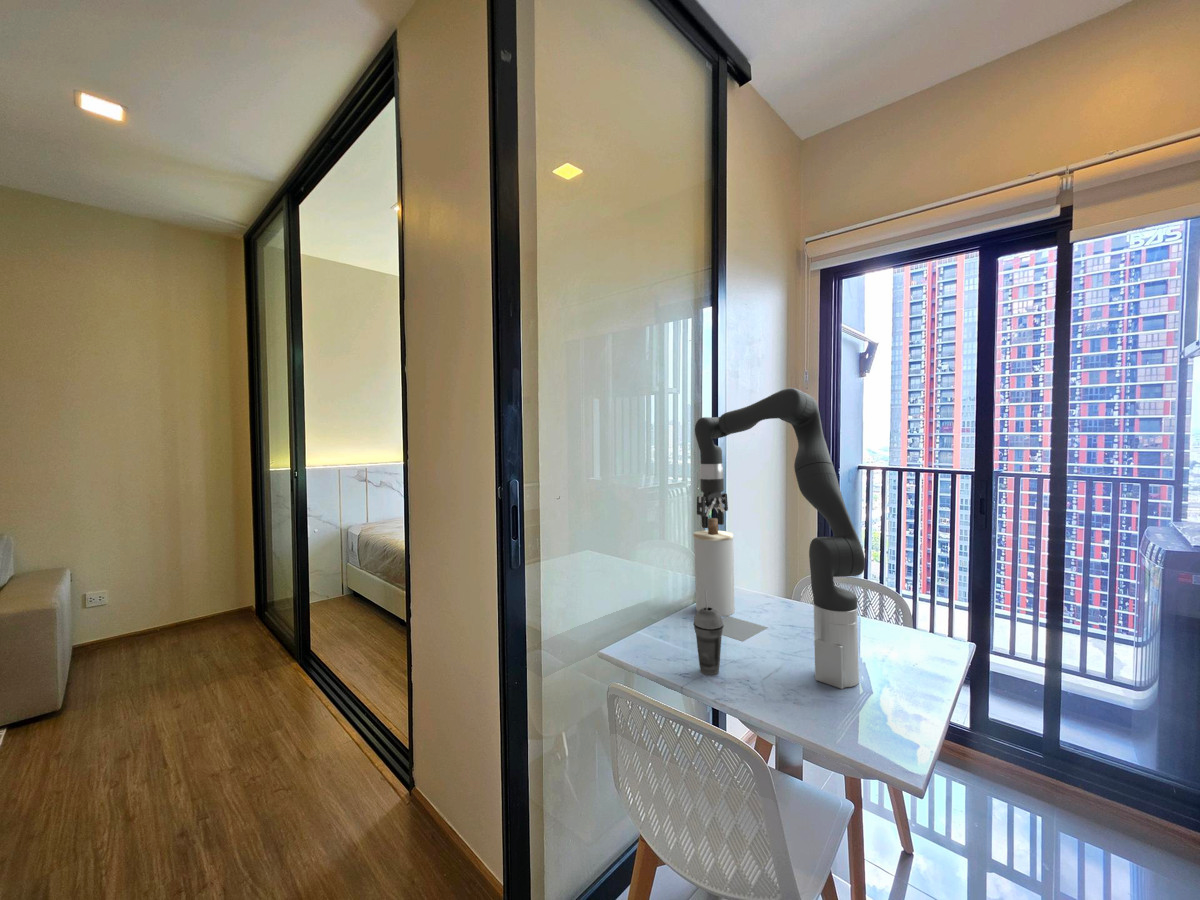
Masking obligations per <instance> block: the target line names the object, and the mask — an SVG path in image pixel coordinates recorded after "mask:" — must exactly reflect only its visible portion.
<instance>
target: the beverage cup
mask: <svg viewBox="0 0 1200 900" xmlns="http://www.w3.org/2000/svg"><path fill="white" fill-rule="evenodd" d="M704 594H705V606H706V607H705V608H702V609H700V610H699V611H697V612H696V613H695V615H694V619H693V623H692V624H693V627H694V631H695V632H694V633H695V638H696V647H697V653H698V654H697V656H698V663H699V664H698V665H699V668H700V669H699V670H700V673H701V674H702V675H705V676H711V677H712V676H717V675H718V674H719V673H720V667H721V653H722V652H721V650H722V649H721V648H722V636H723V635H722V632H723V627H724V626H723V622H722V618H723V617H721V616H720V614H719V613H718V612H717V611H716V610H715V609H713V608H710V607H708V606H707V594H706V589H704Z"/></svg>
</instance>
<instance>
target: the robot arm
mask: <svg viewBox="0 0 1200 900" xmlns="http://www.w3.org/2000/svg"><path fill="white" fill-rule="evenodd" d="M769 419H770V420H772V419H779V420H781V421H783V422H786V423H788V424H791V426H792V428H793V430H794V433H795V436H796V440H797V452H796V455H795V459H794V466H793V467H794V474H795V476H796V482H797V485H798V488H799V489H798V490H799V491H800V493H801V494H802V496H803V497H804V498H805V499H806V501H808V503H810V505H811V506H812V507H813V508H814V509H816V510H817V512H819V514H821V516H823V518H824V519H825V520H826V522H827V524H828V525H829V527H830V529H831V531H832V534H833V536H817V537H814V538H813V539H812V540H811V541H810V544H809V550H808V557H809V569H810V586H811V587H810V588H811V592H812V596H813V597H812V598H813V601H812V602H813V637H814V640H813V641H814V642H813V644H814V677H815V678H814V679H815V681H818V682H821V683H824V684H827V685H829V686H832V687H835V688H838V689H841V690H844V689H845V688H851V687H855V686H857V685H859V682H860V677H859V676H860V673H859V672H860V669H859V667H860V666H859V637H858V636H859V631H858V629H859V628H858V627H859V626H858V599H857V596H856V594H855V593H854V592H852V591H850V590H848V589H845V588H842V587H839V586H836V585H835V582H834V578H838V577H839V578H842V577H843V578H844V577H858V576H860V575H862V574H863V572H864V571H865V566H866V559H865V554H864V553H865V552H864V550H863V546H862V544H861V541H860V539H859V536H858V534H857V532H856V528H855V527H854V525H853V522H852V519H851V517H850V514H849V512H848V510H847V507H846V504H845V500H844V497H843V495H842V492H841V487H840V485H839V480H838V476H837V473H836V471H835V467H834V464H833V461H832V458H831V456H830V452H829V448H828V444H827V442H826V439H825V435H824V432H823V426H822V421H821V415H820V409H819V405H818V402H817V401H816V400H815V398H814V397H813V396H812V395H809V394H808V393H806V392H804V391H802V390H800V389H797V388H795V387H786V388H783V389H781V390H778V391H777V392H775V393H772V394H770V395H769V396H767V397H765V398H762V399H760V400H758V401H755V402H754V403H752V404H749V405H747V406H743V407H741V408H737V409H734V410H730V411H726V412H723V414H721V415H720V416H716V417H714V416H713V417H707V416H705V417H700V418H699V419H698V420H697V421H696V423H695V425H694V435H695V439H696V442H697V445H698V449H699V452H700V469H699V477H700V478H699V480H700V481H699V482H700V483H699V484H700V492H701V493H703V495H702V496H699V495H698V496H697V497H696V515H698V516H700V517H701V527H702V528H703V529H708V528H709V518H710V517H709V516H710V512H712V510H713V509H715V511H716V518H717V519H718V526H719V525H721V526H723V525H724V524H725V520H724V519H725V517H724V516H725V513H726V512H728V511H729V507H728V505H729V504H728V494H727V493H726V492H724V490H725V485H724V483H725V481H724V468H723V451H722V447H721V446H718V445H716V444H715V443H714V440H713V439H721V438H725V437H728V436H729V435H732V434H736V433H741V432H745V431H749V430H750V429H752V428H754V427H755V426H756V425H757V424H758V423H760V422H761V421H764V420H769Z"/></svg>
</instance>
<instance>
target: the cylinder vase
mask: <svg viewBox="0 0 1200 900" xmlns="http://www.w3.org/2000/svg"><path fill="white" fill-rule="evenodd" d="M693 539H694V541H693V542H694V573H695V575H694V576H695V577H694V579H695V608H696V611H697V612H698V611H699V610H700V609H702V608H705V607H706V606H705V594H704V589H706V594H707V606H708V607H710V608H713V609H715V610H716V611H717V612H718V613H719V614H720V616H721V618H724V617H726V616H731V615H733V614H735V612H736V608H735V607H736V606H735V604H736V602H735V599H736V598H735V571H734V570H735V569H734V568H735V565H734V537H733V538H732V539H729V540H722V541H708V540H700V539H696V538H694V537H693Z"/></svg>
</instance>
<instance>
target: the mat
mask: <svg viewBox="0 0 1200 900" xmlns="http://www.w3.org/2000/svg"><path fill="white" fill-rule="evenodd" d="M721 618H722V622H723V626H724V627H723V632H722V636H724V637H727V638H731V639H734V640H736V641H740V642H745V641H747V640H748V639H750V638H752V637H753V636H755V635H758V634H759V633H761V632H763V631H765V630H767V629H769V627H768V626H765V625H761V624H757V623H753V622H751V621H747V620H743V619H741V618H737V617H733V616H731V615H729V616H723V617H721Z"/></svg>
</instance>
